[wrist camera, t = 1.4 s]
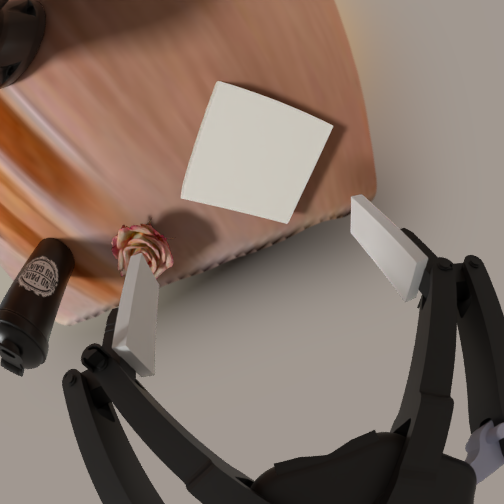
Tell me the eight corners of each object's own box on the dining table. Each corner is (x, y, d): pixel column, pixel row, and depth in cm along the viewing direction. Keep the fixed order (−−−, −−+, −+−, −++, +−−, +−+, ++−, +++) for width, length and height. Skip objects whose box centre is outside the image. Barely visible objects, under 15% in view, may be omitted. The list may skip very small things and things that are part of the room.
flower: (185, 236, 43) (185, 267, 36) (146, 265, 45) (141, 298, 38) (145, 194, 37) (135, 220, 31) (106, 229, 39) (93, 259, 33)
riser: (181, 186, 38) (180, 198, 35) (216, 81, 30) (219, 81, 26) (280, 211, 43) (287, 223, 40) (321, 120, 35) (333, 125, 32)
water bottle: (84, 248, 40) (41, 363, 22) (72, 286, 44) (41, 390, 26) (38, 224, 35) (-25, 327, 17) (31, 264, 39) (-14, 362, 21)
